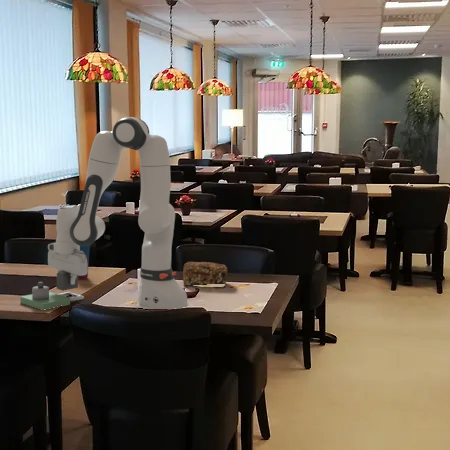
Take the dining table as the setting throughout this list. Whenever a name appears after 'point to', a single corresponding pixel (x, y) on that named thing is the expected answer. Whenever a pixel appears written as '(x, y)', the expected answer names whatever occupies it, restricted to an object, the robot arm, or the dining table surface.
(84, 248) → the cup
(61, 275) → the grey piece
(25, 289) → the dining table surface
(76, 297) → the bracket
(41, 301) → the deck
